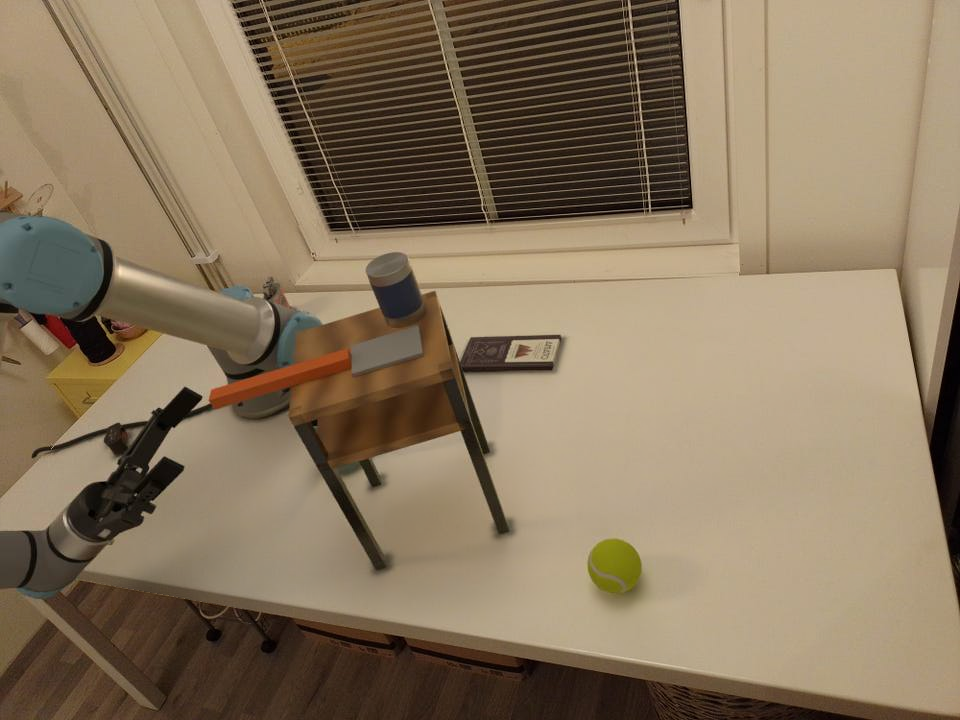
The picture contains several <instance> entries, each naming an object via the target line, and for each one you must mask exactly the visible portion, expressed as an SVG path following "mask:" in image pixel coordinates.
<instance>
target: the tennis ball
mask: <svg viewBox="0 0 960 720" xmlns="http://www.w3.org/2000/svg"><path fill="white" fill-rule="evenodd" d="M642 570H643V567H642V560H641V557H640V554H639V552H638V551H637V550H636V548H635V547H634V546H633V545H631V543H629V542H627V541H625V540H623V539H620V538H606V539H604V540H601V541H599V542H597V544H596V545H594V546H593V548H592V549H591V550H590V552H589V555H588V558H587V572H588V576H589V577H590V579H591V580H592V582H593V583H594V585H595V586H596V587H597V588H598V589H600V590H601V591H603V592H605V593H608V594H623V593H627V592H628V591H630V590H632V589H633V588H634V587H635V586H637V584H638V582H639V580H640V578H641V575H642Z"/></svg>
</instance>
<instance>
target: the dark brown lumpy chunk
mask: <svg viewBox="0 0 960 720" xmlns="http://www.w3.org/2000/svg"><path fill="white" fill-rule="evenodd" d="M122 425H123V424H122V423H120V422H115V423H113V424H112V425H109V426H107V427H106V428H107V429H106V433H105V434H106V435H105V436H104V437H103V443H104V444H105V445H106V446H107V447H108V448H109V450H110V451H111V452H112V454H113V455H115V456H119V455H122V454H124V453H125V452H126V451H127V450H128V448H129V437H128V436H129V435H128V431H127V430H126V429H124V428H123V426H122Z"/></svg>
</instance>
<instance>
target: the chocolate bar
mask: <svg viewBox="0 0 960 720" xmlns="http://www.w3.org/2000/svg"><path fill="white" fill-rule="evenodd" d="M561 342H562V335H561V334H537V335H535V334H534V335H532V334H531V335H503V336H502V335H499V336H498V335H497V336H471V337H470V338H469V340H468V342H467V345H466V348H465V349H464V351H463V355H462V357H461V359H460V360H459V361H460V364H461V367H462V370H463V372H517V371H518V372H519V371H520V372H522V371H523V372H525V371H527V372H528V371H529V372H530V371H532V372H533V371H534V372H535V371H553V369H554V366H555V362H556V360H557V359H556V358H557V355H558V352H559V348H560V345H561Z"/></svg>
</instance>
